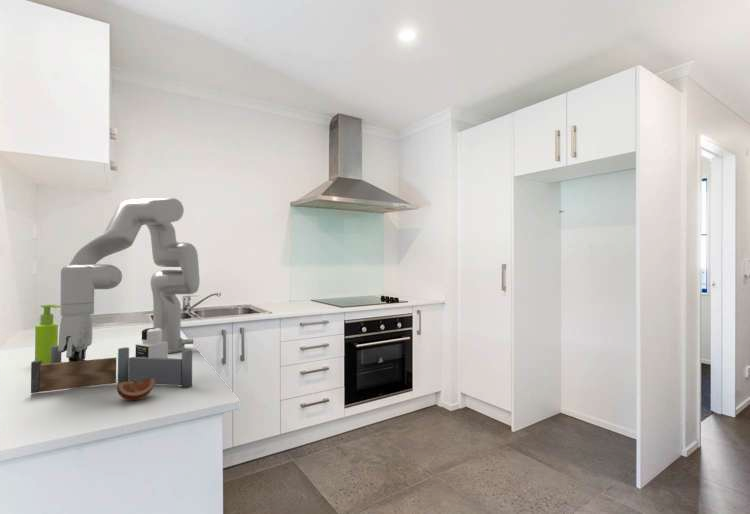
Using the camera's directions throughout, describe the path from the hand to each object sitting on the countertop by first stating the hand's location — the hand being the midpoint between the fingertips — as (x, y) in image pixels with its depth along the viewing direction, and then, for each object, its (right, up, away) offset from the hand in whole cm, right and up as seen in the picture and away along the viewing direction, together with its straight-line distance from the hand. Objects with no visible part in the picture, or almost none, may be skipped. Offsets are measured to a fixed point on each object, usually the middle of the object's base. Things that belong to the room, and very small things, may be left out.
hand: (77, 374), depth 109 cm
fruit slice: (+23, -3, -11) cm, 26 cm away
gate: (+2, -3, -3) cm, 4 cm away
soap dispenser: (-28, -4, +24) cm, 37 cm away
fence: (+11, -3, +2) cm, 11 cm away
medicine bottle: (+7, -4, +24) cm, 25 cm away
